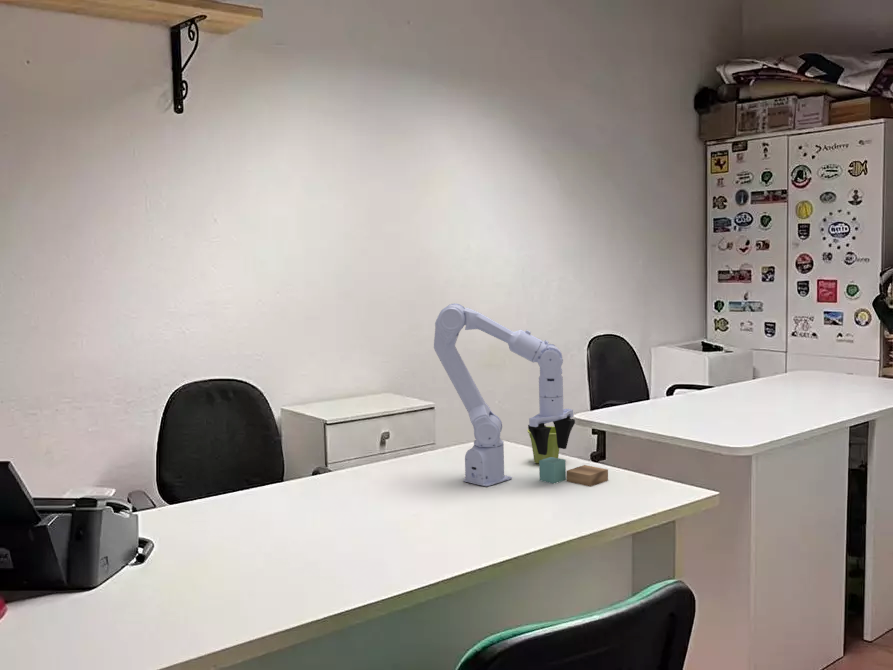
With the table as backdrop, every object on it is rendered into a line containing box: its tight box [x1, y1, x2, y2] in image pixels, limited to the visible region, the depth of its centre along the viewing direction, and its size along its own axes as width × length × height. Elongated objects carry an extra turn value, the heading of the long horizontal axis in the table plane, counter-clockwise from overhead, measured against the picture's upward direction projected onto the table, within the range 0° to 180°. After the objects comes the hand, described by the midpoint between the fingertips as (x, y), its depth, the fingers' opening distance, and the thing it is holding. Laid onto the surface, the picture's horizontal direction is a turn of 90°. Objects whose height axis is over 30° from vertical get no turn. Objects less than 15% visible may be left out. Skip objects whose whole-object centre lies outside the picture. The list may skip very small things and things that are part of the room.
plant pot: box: [526, 425, 560, 464], centre depth 234 cm, size 9×9×9 cm
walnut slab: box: [566, 464, 609, 487], centre depth 215 cm, size 7×7×3 cm
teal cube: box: [538, 457, 567, 484], centre depth 217 cm, size 4×4×5 cm
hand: (552, 451), depth 217 cm, fingers open, 7 cm apart
